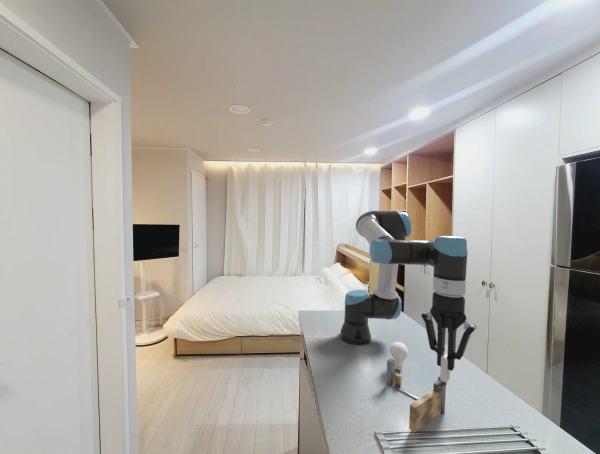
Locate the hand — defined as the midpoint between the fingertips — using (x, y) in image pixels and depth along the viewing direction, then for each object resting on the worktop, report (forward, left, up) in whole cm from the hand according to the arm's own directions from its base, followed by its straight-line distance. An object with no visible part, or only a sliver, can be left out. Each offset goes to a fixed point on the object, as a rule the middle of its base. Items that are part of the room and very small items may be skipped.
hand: (444, 379), depth 68 cm
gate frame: (-12, +10, -16) cm, 23 cm away
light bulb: (-23, +21, -17) cm, 35 cm away
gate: (-5, +3, -16) cm, 17 cm away
